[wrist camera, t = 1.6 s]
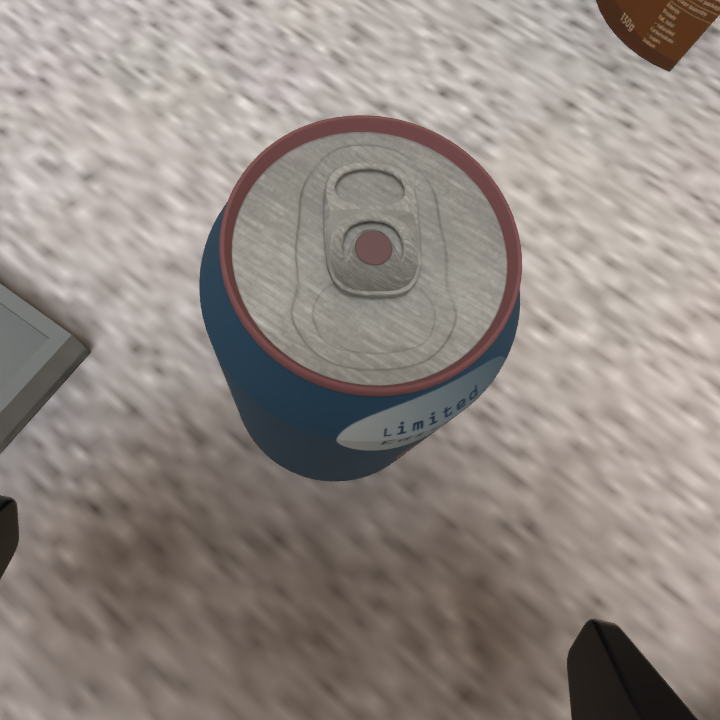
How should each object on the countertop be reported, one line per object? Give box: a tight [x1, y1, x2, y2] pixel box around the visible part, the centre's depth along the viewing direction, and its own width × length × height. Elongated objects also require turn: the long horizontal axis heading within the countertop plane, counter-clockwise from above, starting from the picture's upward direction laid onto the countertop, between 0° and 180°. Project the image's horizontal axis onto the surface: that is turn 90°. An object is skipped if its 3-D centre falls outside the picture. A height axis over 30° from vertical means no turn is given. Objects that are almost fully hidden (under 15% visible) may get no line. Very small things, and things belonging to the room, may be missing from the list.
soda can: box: [199, 115, 522, 481], centre depth 17 cm, size 7×7×12 cm
